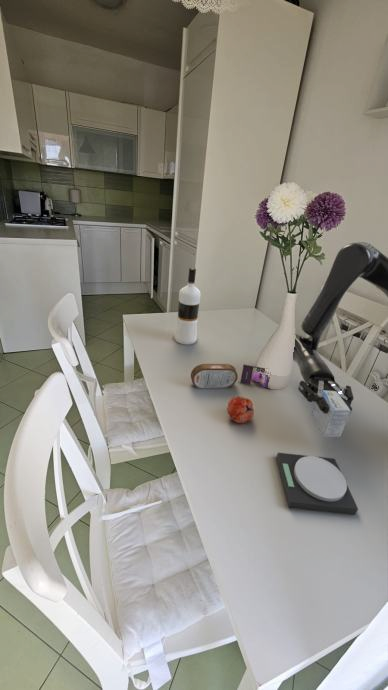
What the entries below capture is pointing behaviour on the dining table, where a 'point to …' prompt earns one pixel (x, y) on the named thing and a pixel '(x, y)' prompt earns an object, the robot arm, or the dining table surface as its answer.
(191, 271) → the vodka
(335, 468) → the kitchen scale
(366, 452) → the dining table surface
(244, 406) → the pomegranate
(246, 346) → the dining table surface
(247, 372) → the purple box
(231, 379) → the tin
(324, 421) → the medicine box
